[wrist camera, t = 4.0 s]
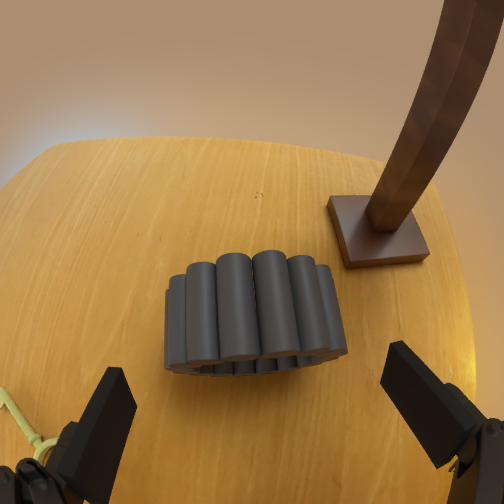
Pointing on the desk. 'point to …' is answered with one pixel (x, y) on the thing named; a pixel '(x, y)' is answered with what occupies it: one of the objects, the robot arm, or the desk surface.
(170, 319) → the grey cylinder ring
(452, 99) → the brown pillar stand
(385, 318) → the desk surface
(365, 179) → the desk surface
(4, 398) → the key
